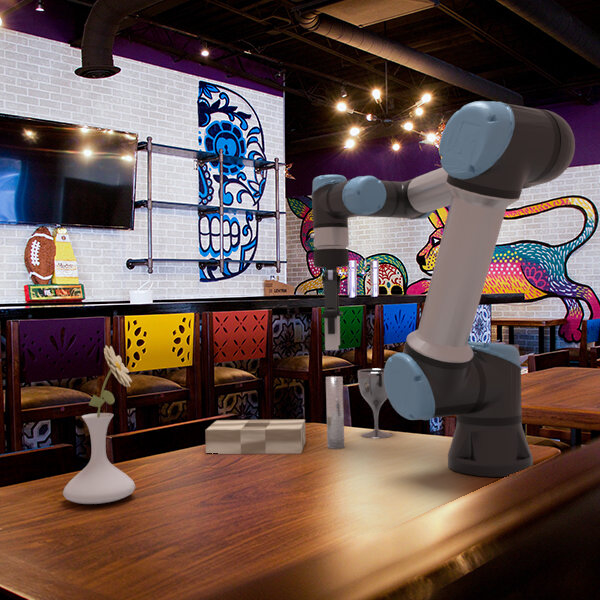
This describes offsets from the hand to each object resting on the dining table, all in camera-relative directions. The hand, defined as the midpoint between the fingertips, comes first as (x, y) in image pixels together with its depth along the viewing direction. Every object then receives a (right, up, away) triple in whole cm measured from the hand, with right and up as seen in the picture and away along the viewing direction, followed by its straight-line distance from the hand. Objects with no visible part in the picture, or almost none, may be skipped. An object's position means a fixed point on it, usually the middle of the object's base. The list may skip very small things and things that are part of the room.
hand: (333, 347), depth 153 cm
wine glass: (+11, -21, +12) cm, 27 cm away
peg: (+1, -21, 0) cm, 21 cm away
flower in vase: (-39, -23, -36) cm, 58 cm away
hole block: (-16, -22, +1) cm, 27 cm away
